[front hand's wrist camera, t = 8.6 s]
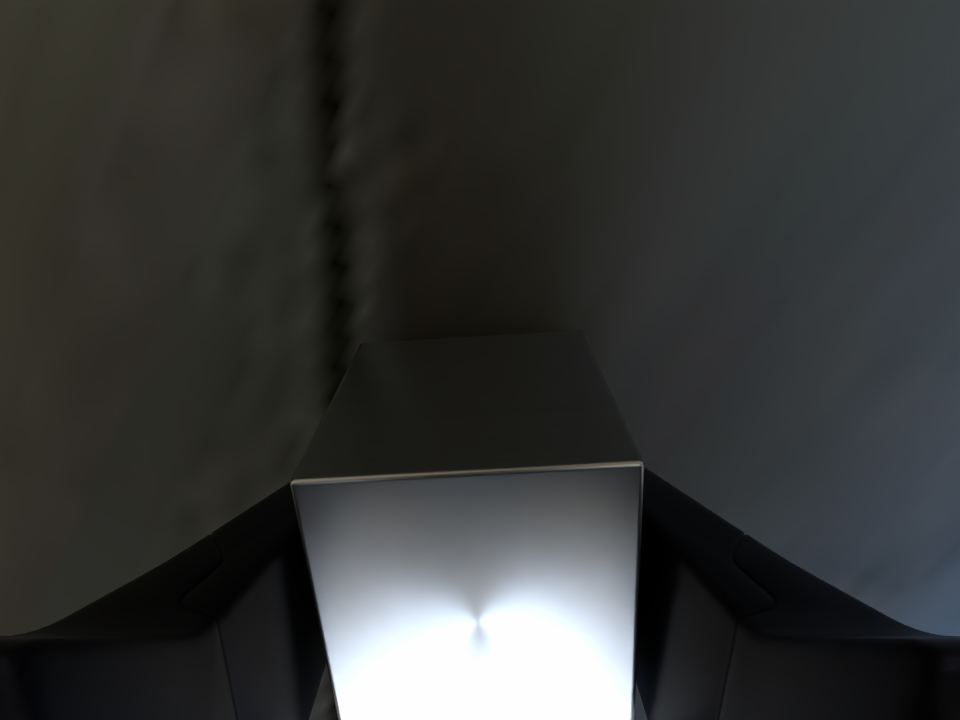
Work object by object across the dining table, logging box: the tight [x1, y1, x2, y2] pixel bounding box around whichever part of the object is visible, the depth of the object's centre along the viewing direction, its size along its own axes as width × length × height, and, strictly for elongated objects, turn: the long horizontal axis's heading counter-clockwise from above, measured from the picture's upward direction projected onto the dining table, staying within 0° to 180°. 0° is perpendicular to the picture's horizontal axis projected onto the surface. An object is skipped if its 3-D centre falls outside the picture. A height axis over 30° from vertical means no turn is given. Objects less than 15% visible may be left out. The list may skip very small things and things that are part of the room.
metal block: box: [290, 330, 644, 720], centre depth 10 cm, size 4×4×5 cm
